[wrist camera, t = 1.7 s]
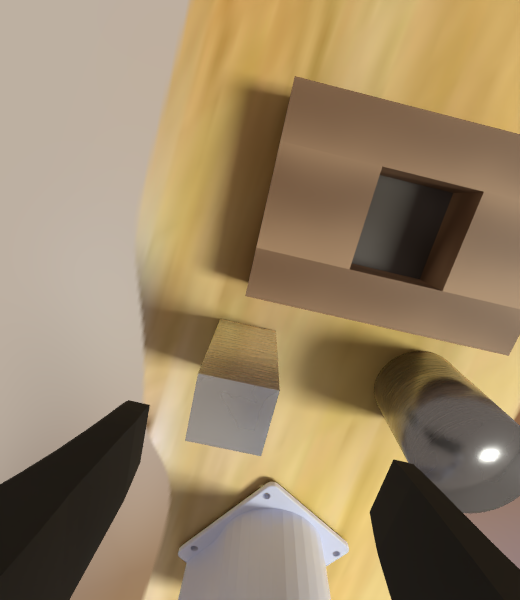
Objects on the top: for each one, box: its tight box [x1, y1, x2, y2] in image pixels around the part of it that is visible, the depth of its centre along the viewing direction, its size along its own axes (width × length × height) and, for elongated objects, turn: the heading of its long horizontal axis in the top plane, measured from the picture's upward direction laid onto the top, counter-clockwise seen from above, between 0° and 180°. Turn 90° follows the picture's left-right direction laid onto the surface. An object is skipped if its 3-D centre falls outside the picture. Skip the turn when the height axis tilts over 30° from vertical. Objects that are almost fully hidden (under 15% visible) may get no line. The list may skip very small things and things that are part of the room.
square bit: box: [185, 319, 280, 456], centre depth 16 cm, size 3×3×6 cm
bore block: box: [246, 76, 520, 356], centre depth 15 cm, size 9×13×2 cm
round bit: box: [374, 351, 520, 513], centre depth 16 cm, size 5×5×6 cm
